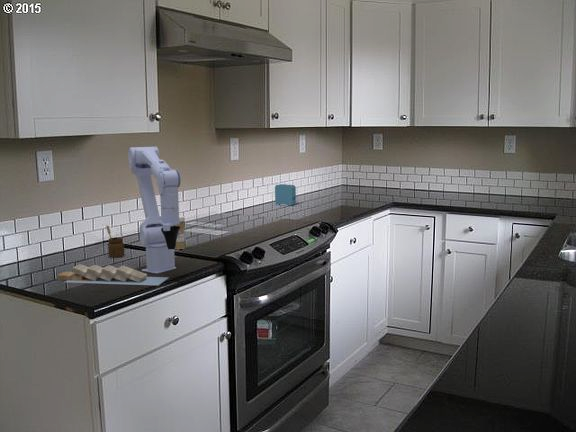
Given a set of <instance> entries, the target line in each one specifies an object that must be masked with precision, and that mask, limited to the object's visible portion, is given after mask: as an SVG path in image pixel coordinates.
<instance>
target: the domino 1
mask: <svg viewBox="0 0 576 432" xmlns="http://www.w3.org/2000/svg"><path fill="white" fill-rule="evenodd" d="M56 276H57V277H56V278H57V281H67V280H78V281H82V280H84V279H86V277H83V276H81V275H78V274H76V273H73V272H72V271H63V272H61V273H59V274H57V275H56Z"/></svg>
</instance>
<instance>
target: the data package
mask: <svg viewBox="0 0 576 432" xmlns="http://www.w3.org/2000/svg"><path fill="white" fill-rule="evenodd" d="M296 189H297V188H296V185H295V184H283V183H280V184H276V185H275V186H274V204H275V205H276V204H286V205H292V206H295V205H296V203H297V196H296V193H297V190H296ZM294 204H295V205H294Z"/></svg>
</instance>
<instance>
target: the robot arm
mask: <svg viewBox="0 0 576 432" xmlns="http://www.w3.org/2000/svg"><path fill="white" fill-rule="evenodd" d="M160 157H161V155H160V150H159V148H158V146H156V145H155V146H140V147H134V146H131V147H130V148H129V149H128V152H127V159H128V164H129V169H130V172H131V174H134V176H136V177H135V178H136V180H137V185H138V189H139V193H140V198H141V202H142V208H143V213H144V216H145V219H144V220H143V221H142V222H141V223H140V225H139V228H138V229H139V240H140V242H141V244H142V245H143V246H144V247H145V258H146V268H143V269H141V271H140V272H147V273H152V274H160V273H163V272H168V271H171V270H174V269H177V267H176V266H175V247H176V240H177V235H178V232H179V230H180V226H175V225H177V224H180V220H179V216H180V209H179V207H180V203H179V188H180V187H181V183H182V182H181V181H182V180H181V174H180V172H179V170H178V169H176V168H175V169H172V168H171V167H170V166H169V164H168V163H167V162H166V161H165V160H164V159H160ZM152 175H153V176H154V177H155V178H156V183H157V189H158V194H159V196H160V197H159V199H160V212H159V208H158V207H159V206H158V204H157V203H158V202H157V197H156V194H155V190H154V184H153V180H152Z"/></svg>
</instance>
